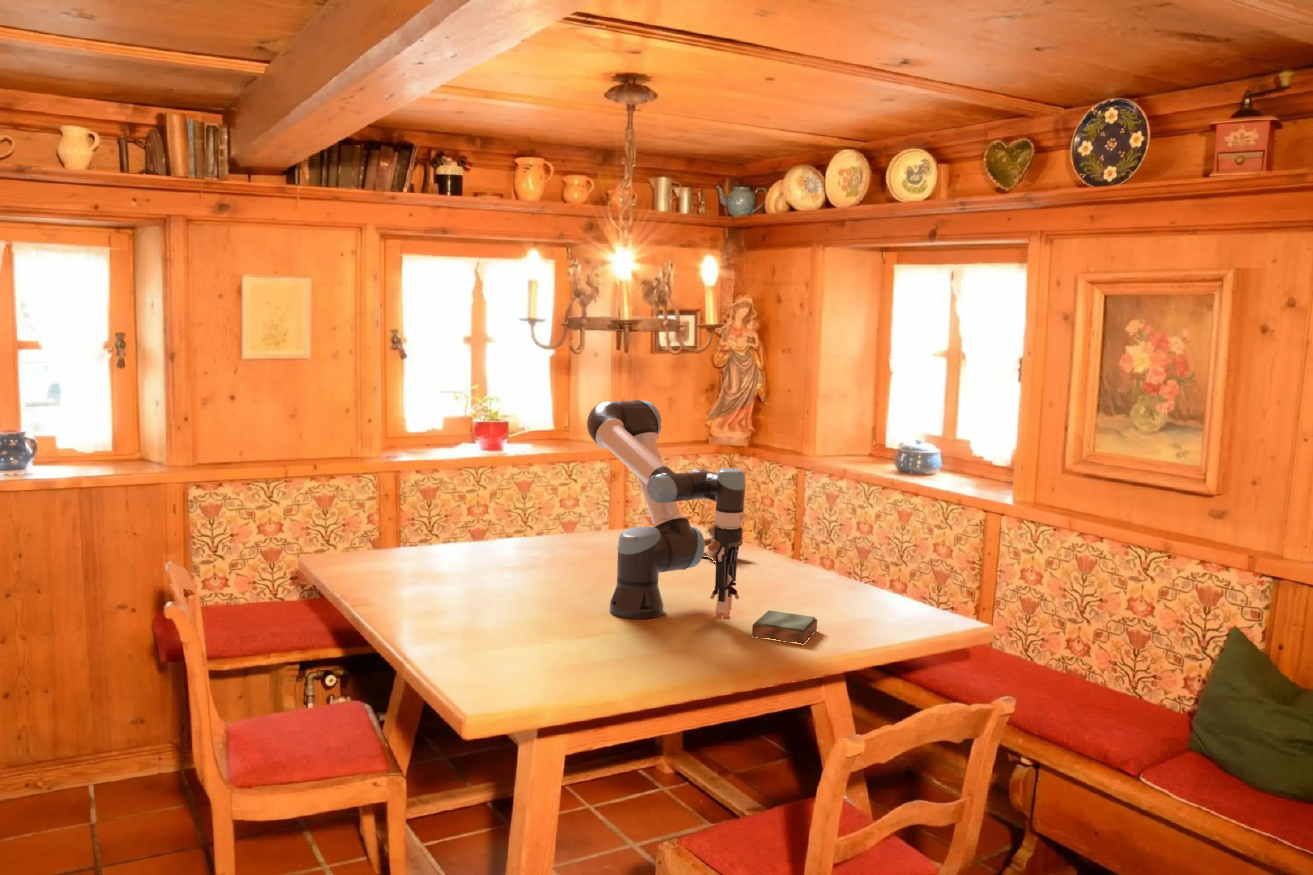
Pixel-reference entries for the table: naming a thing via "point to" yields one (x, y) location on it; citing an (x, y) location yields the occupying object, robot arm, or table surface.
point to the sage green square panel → (784, 627)
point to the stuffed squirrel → (714, 543)
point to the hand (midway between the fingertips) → (724, 610)
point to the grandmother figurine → (730, 591)
